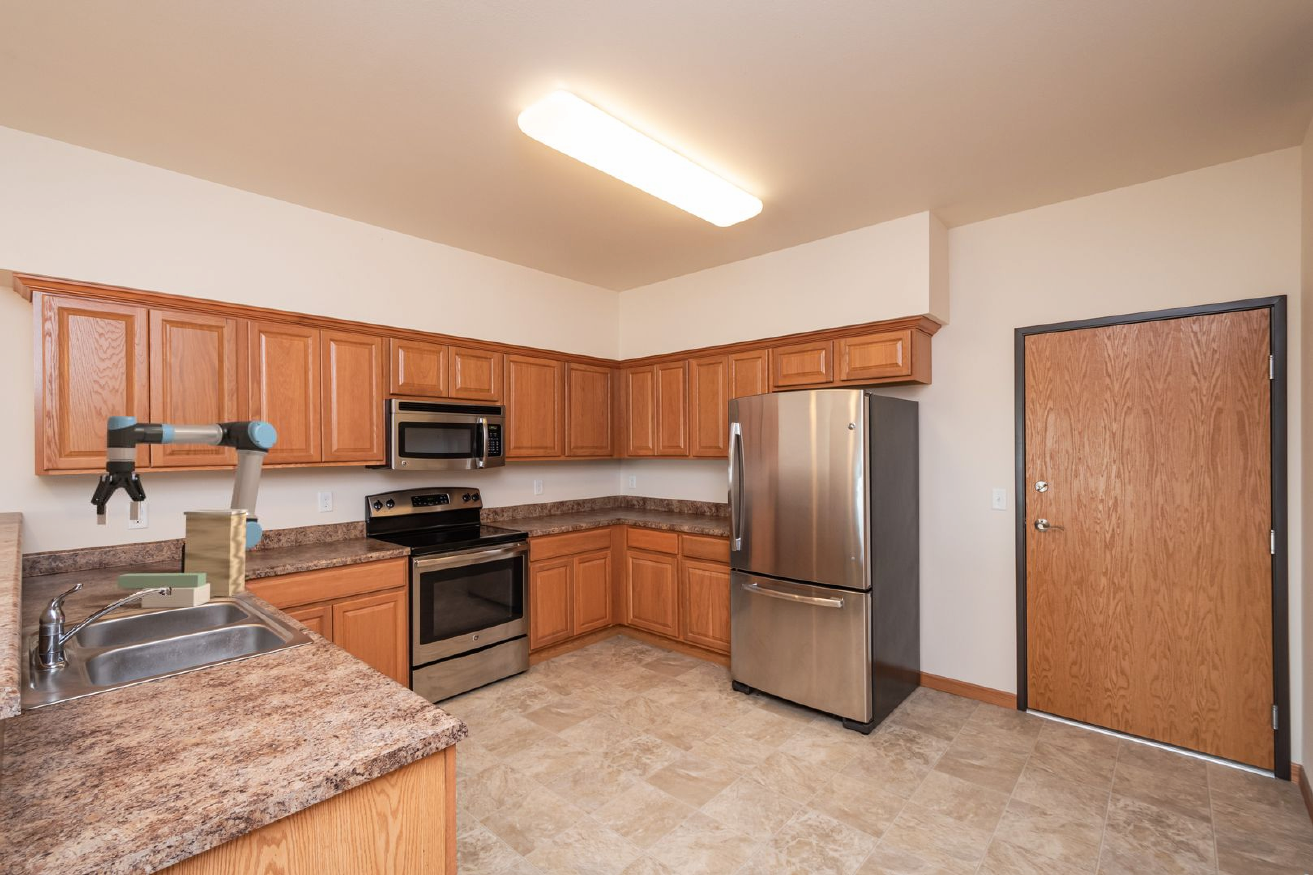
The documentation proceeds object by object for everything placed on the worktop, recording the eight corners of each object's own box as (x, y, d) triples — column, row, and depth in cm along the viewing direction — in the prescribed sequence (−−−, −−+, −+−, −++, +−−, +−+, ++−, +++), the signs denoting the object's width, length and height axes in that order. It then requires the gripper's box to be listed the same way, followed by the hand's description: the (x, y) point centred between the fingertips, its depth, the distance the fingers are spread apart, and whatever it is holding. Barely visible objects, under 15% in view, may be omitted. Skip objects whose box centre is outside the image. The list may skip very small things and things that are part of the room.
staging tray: (159, 601, 202) (160, 583, 202) (209, 600, 203) (210, 583, 203) (141, 607, 194) (142, 589, 194) (193, 606, 195) (193, 588, 195)
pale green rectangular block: (127, 585, 199) (127, 573, 199) (205, 584, 201) (206, 572, 201) (117, 588, 195) (117, 576, 195) (197, 587, 197) (197, 575, 197)
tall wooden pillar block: (200, 591, 217) (202, 509, 218) (246, 590, 218) (248, 509, 219) (181, 597, 207) (183, 511, 208) (229, 597, 208) (231, 511, 209)
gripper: (137, 460, 217) (136, 518, 216) (77, 461, 192) (75, 526, 191) (159, 460, 217) (157, 518, 217) (102, 461, 193) (100, 526, 192)
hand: (119, 522), depth 204 cm, fingers open, 13 cm apart
